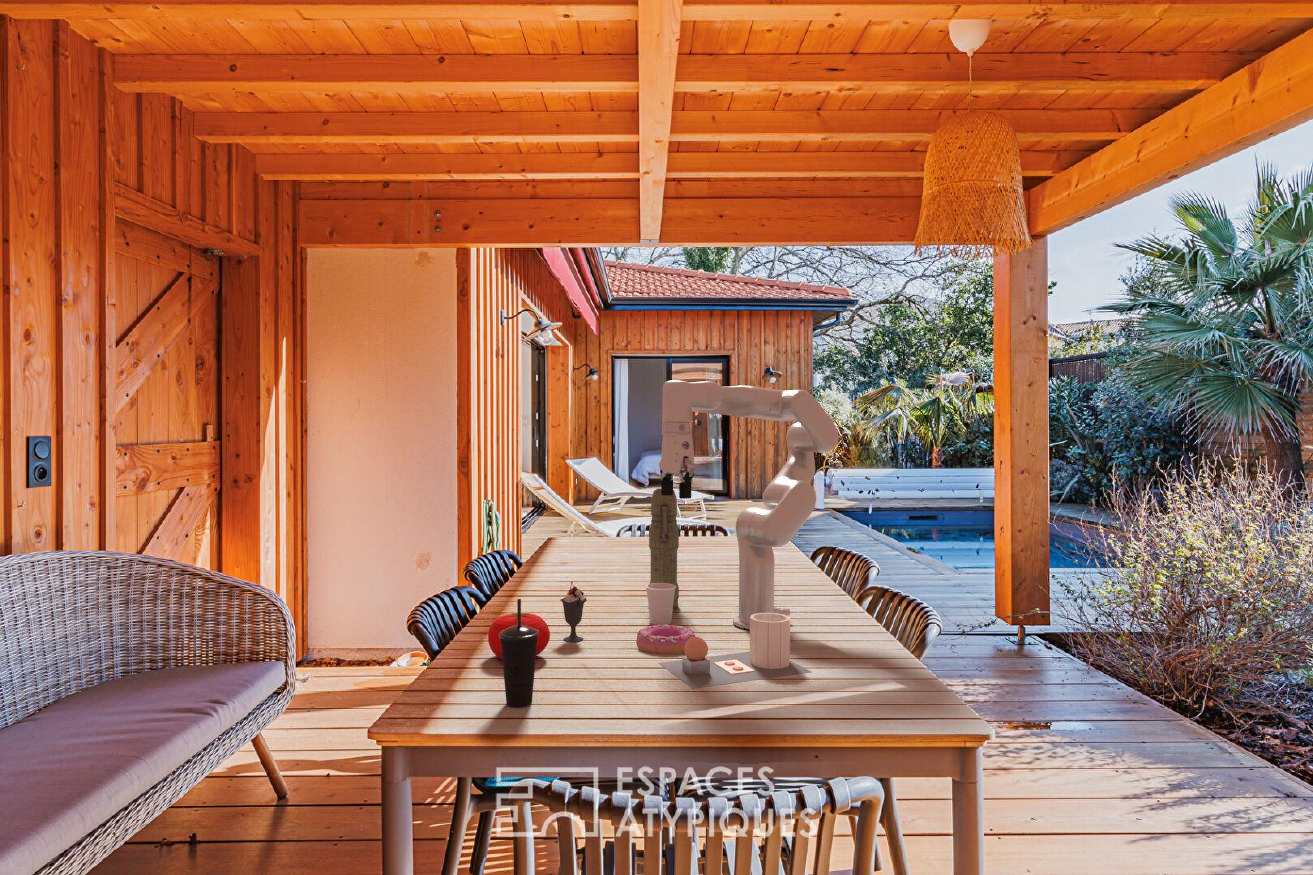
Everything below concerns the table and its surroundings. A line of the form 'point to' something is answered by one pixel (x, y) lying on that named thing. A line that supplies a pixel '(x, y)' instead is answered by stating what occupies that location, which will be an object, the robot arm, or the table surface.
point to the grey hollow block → (696, 666)
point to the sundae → (573, 611)
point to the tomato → (510, 621)
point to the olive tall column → (664, 540)
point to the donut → (663, 639)
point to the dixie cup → (660, 602)
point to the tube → (770, 640)
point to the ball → (696, 649)
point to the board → (730, 671)
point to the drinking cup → (519, 661)
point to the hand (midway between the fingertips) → (675, 496)
